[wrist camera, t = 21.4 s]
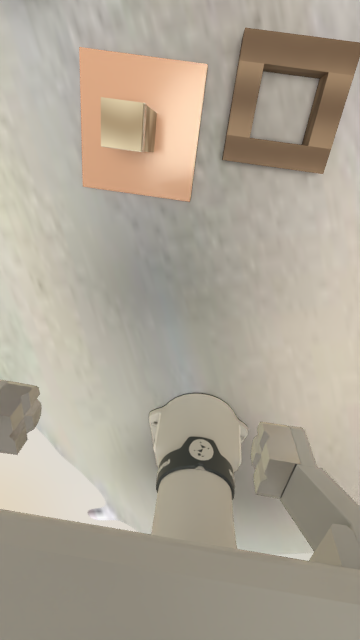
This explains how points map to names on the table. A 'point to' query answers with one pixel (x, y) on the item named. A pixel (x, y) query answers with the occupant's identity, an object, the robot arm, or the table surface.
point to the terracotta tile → (171, 123)
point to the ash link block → (127, 125)
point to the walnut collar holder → (301, 60)
